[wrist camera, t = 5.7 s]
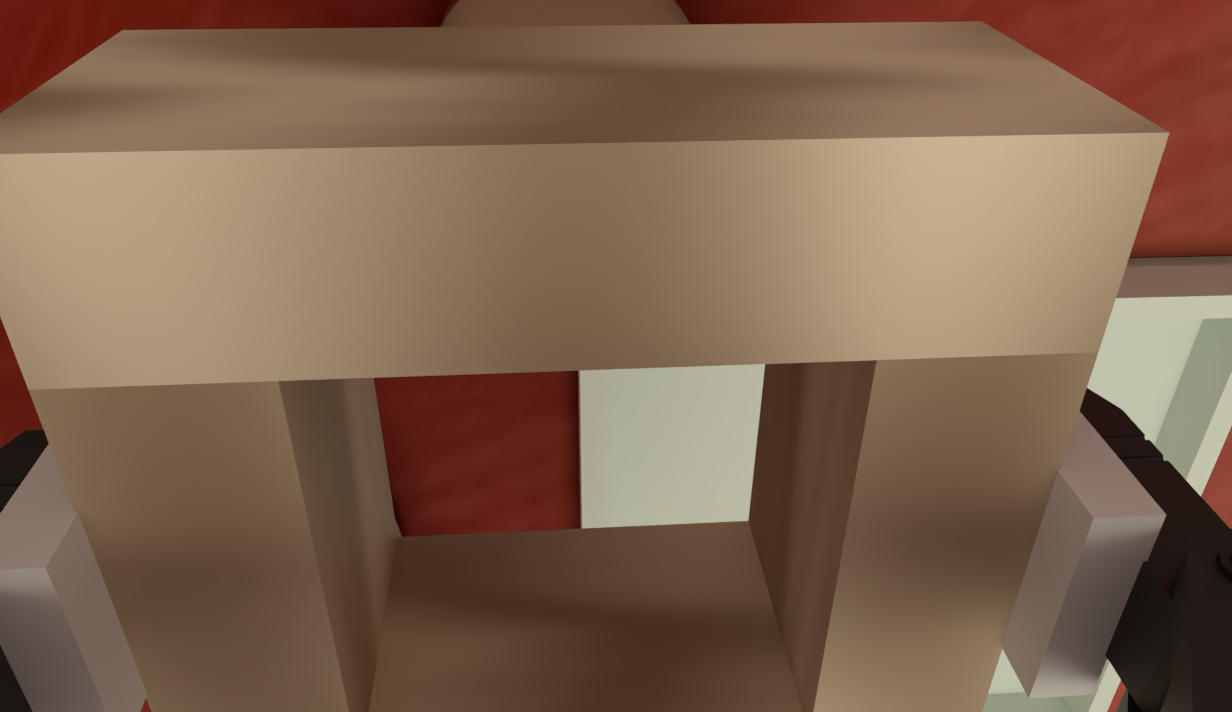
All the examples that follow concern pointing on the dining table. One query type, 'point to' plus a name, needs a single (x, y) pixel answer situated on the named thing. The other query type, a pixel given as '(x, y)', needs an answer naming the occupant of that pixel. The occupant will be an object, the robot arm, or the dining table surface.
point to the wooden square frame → (564, 346)
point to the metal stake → (562, 13)
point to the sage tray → (731, 400)
